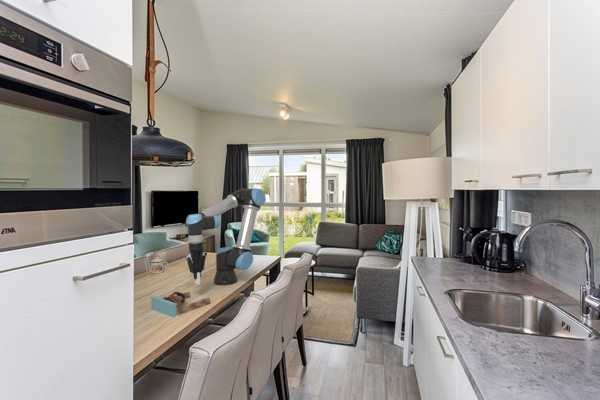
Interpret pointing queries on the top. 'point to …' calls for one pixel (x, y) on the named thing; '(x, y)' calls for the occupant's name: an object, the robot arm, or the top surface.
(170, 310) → the end stop
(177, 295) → the pottery mug
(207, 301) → the channel
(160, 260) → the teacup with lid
